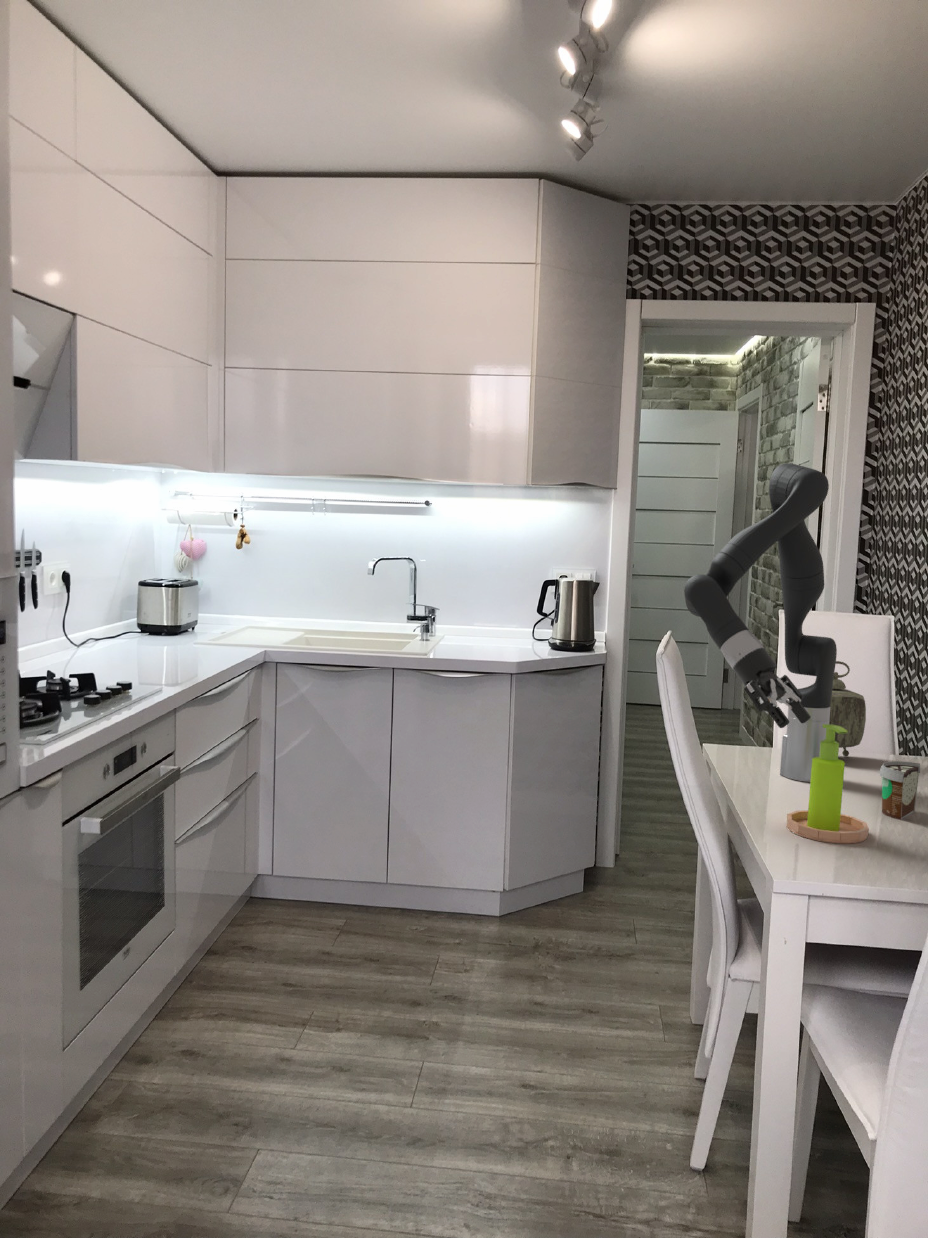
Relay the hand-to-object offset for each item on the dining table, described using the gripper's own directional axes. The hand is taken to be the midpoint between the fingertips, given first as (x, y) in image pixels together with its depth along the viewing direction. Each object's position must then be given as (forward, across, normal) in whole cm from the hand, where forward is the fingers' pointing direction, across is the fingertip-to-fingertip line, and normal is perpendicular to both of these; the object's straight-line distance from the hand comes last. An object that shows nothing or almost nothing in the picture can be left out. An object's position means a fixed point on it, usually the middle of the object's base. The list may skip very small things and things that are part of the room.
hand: (796, 723), depth 201 cm
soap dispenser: (+19, 0, +8) cm, 21 cm away
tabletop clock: (-1, +62, +30) cm, 69 cm away
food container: (+21, +25, +7) cm, 33 cm away
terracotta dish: (+20, 0, +8) cm, 21 cm away
